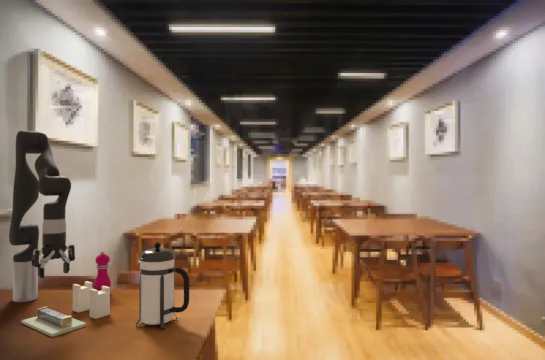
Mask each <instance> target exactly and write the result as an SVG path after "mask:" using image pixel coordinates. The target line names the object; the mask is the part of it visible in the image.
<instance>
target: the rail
mask: <svg viewBox="0 0 545 360" xmlns="http://www.w3.org/2000/svg"><path fill="white" fill-rule="evenodd" d="M36 316H37V318H39V319H42V320H44V321H47V322H49V323H51V324H54V325H56V326H59V327H61V328H62V329H63V328H66V327H69V326H72V318H73V316H72V315H67V314H64V313H61V312H60V311H57V310H54V309H50V308H48V306H43V307H40V308H39V307H38V308H36Z"/></svg>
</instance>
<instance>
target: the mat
mask: <svg viewBox="0 0 545 360" xmlns="http://www.w3.org/2000/svg"><path fill="white" fill-rule="evenodd" d="M21 324H23V325H25V326H27V327H29V328H31V329H34V330H35V331H38V332H40V333H43V334H45V335H47V336H49V337H52V338H53V337H56V336H57V337H58V336H60V335H62V334H66V333H69V332H72V331H75V330H78V329H82V328H85V327H86V326H87V322H85V321H81V320H78V319H76V318H74V317H72V326H69V327H66V328H63V329H62V328H61V327H59V326H56V325H54V324H51V323H49V322H47V321H44V320H42V319H39V318H37V315H36V316H33V317H29V318H26V319H21Z"/></svg>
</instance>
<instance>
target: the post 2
mask: <svg viewBox="0 0 545 360" xmlns="http://www.w3.org/2000/svg"><path fill="white" fill-rule="evenodd" d="M110 300H111V286H110V287H107V286H102V290H101V291H98V290H96V289H95V288H92V289H90V309H89V318H92V319H95V320H96V319H99V318H103V317H105V316H109V315H111V312H110V311H111V307H110V306H111V305H110V304H111V301H110Z"/></svg>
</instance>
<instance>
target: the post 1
mask: <svg viewBox="0 0 545 360" xmlns="http://www.w3.org/2000/svg"><path fill="white" fill-rule="evenodd" d="M90 289H93V282H91V281H88V280H87V281H84V285H82V286H81V284H77V283H72V312H74V313H75V312H76V313H81V312H85V311H90Z"/></svg>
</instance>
